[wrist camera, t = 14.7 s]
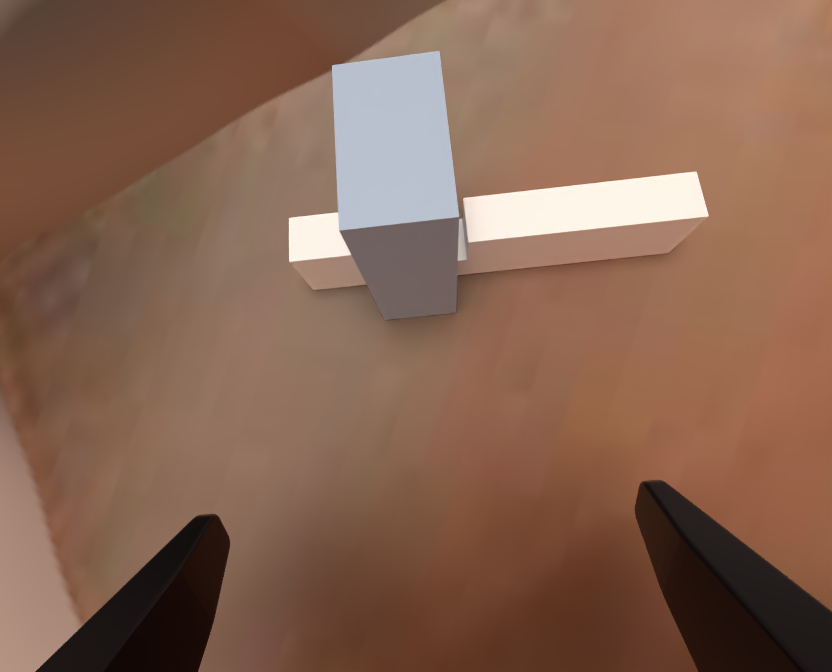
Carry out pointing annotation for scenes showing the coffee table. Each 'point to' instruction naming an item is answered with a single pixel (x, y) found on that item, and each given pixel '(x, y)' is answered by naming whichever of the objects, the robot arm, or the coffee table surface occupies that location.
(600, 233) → the slotted rail
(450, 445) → the coffee table surface
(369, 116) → the slotted block
